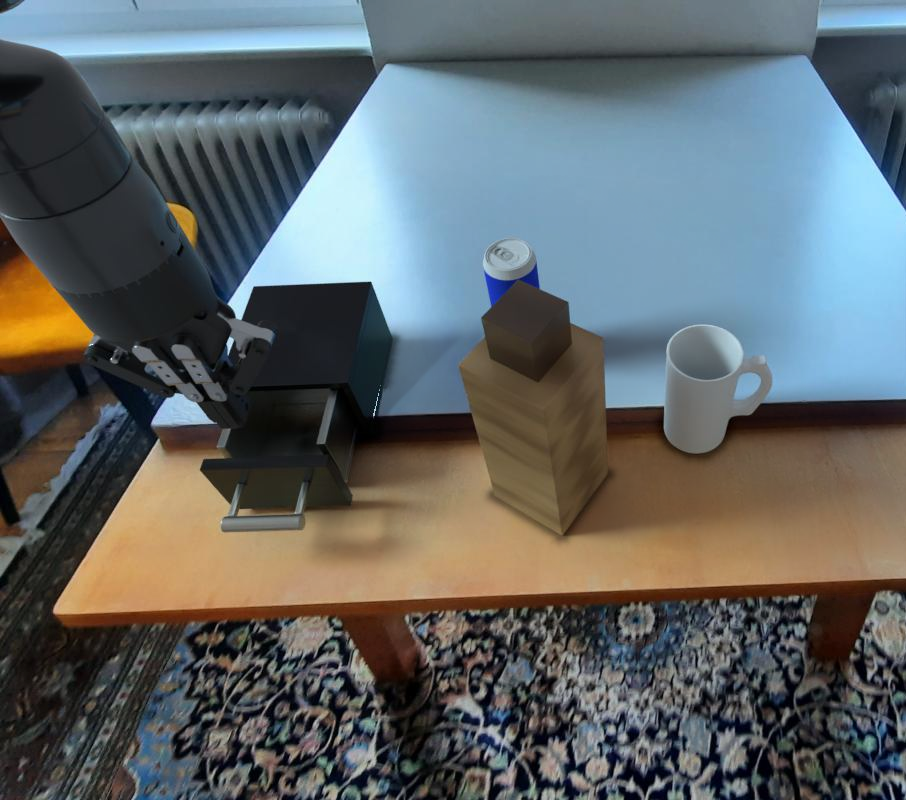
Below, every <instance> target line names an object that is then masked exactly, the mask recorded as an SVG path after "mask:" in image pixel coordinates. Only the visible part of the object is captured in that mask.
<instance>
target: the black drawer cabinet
mask: <svg viewBox="0 0 906 800" xmlns="http://www.w3.org/2000/svg"><path fill="white" fill-rule="evenodd" d="M240 320H242V321H244V322H247V323H250V324H252V325H255V326H257V325H258V323H259V322H260V321H262V320H269V321H272V322H274V323H275V324H276V325H277V331H276V334H275V338H274V341H273V344H272V347H271V350H270V353H269V356H268V358H267V360H266V361H265V363H264V365H263V367H262V369H261V370H260V372H259V374H258V376H257V377H256V379H255V381H254V383H253V384H252V386H251V388H250V390H249V391H277V390H304V389H332V388H342V389H343V391H344V393H345V395H346V397H347V399H348V401H349V403H350V405H351V407H352V409H353V411H354V413H355V415H356V417H357V419H358V421H359V423H360V425H359V429H358V434H357V438H373V437H375V434H376V433H375V432H376V429H377V424H378V418H379V412H380V407H381V404H382V403H381V402H382V397H383V392H384V387H385V381H386V377H387V371H388V366H389V361H390V357H391V356H390V355H391V351H392V347H393V346H392V345H393V340H394V338H393V335H392V333H391V331H390V328H389V325H388V322H387V319H386V316H385V313H384V312H383V309H382V307H381V303H380V301H379V298H378V296H377V293H376V291H375V288H374V284H373V283H372V281H350V282H328V283H325V282H324V283H323V282H322V283H304V284H302V283H301V284H300V283H299V284H275V285H254V286H253V287H252V289H251V292H250V295H249V297H248V300H247V303H246V306H245V308H244V311H243V314H242V317H241V319H240ZM239 352H240V351H239V350H237V348H236V342H235V340H234V339H233V341H232V343H231V347H230V349H229V351H228V357H229V359H230V361H231V362H232V364H233V365H236V364H238V362H239V360H240V357H239ZM380 385H381V386H380ZM379 389H380V391H379ZM249 391H248V392H249ZM378 393H379V396H378ZM377 397H378V401H377ZM376 401H377V406H376ZM375 406H376V411H375V416H374V419H373V413H374V409H375Z"/></svg>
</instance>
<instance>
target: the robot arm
mask: <svg viewBox="0 0 906 800" xmlns="http://www.w3.org/2000/svg"><path fill="white" fill-rule="evenodd" d="M25 1H26V0H0V15H1V14H4V13H6V12H9V11H11V10H14V9H16V7H18V6H20V5H21V4H22V3H24V2H25ZM99 101H100V100H99V99H98V98H97V96H96V94H95V92H94V91H93V90H92V88H91V86H90V85H89V84H88V82H87V81H86V80H85V78H84V77H83V75H82V74H81V73H80V71H79V70H78V69H77V68H76V67H75V66H74V65H73V64H72V63H71V62H70V61H69V60H67V58H65V57H63V56H62V55H60V54H58V53H57V52H55V51H52V50H49V49H46V48H42V47H38V46H33V45H29V44H24V43H19V42H13V41H10V40H4V39H1V38H0V219H1V221H2V222H3V224H4V226H5V227H6V229H7V230H8V232H9V234H10V236H11V237H12V239H13V240H14V242H15V243H16V244H17V245H18V247H19V248H20V249H21V250H22V252H23V253H24V254H25V256H26V257H27V258H28V259H29V260H30V261H31V263H32V264H33V265H34V266H35V268H36V269H38V271H39V272H40V273H41V274H42V276H43V277H45V279H46V280H47V281H48V282H49V284H50V285H51V286H52V287H53V289H55V291H56V292H57V293H58V294H59V296H60V297H61V298H62V299H63V300H64V302H65V303H67V305H68V306H69V307H70V308H71V309H72V311H73V312H74V313H75V314H76V315H77V317H78V318H79V319H80V321H82V322H83V324H84V325H85V326H86V328H87V329H88V330H90V332H92V333H93V335H92V337H91V339H90V341H89V343H88V345H87V347H86V349H85V351H84V352H83V355H82V360H83V361H84V362H85V363H87V364H89V365H91V366H93V367H96V368H98V369H100V370H102V371H104V372H107V373H109V374H111V375H113V376H115V377H118V378H120V379H122V380H124V381H126V382H128V383H131V384H133V385H135V386H138V387H139V388H142V389H144V390H146V391H149V392H150V393H153V394H155V395H157V396H159V397H162V398H166V399H170V398H174V396H175V395H176V394H177V395H183V396H184V397H185V398H186V399H187V400H188V401H190V402H192V403H196V404H197V406H198V407H199V408H200V409H201V411H203V413H204V415H205V417H207V419H208V420H210V422H213V423H215V424H217V425H218V427H219V428H220V429H221V430H223V429H232V428H242V427H243V425H244V422H246V421H247V418H248V415H249V412H250V409H251V402H250V400H249V399H248V397H247V396H246V394H247V393H248V391H249V390H250V388H251V386H252V384H253V383H254V381H255V379H256V377H257V376H258V374H259V372H260V370H261V369H262V367H263V365H264V363H265V361H266V360H267V358H268V356H269V353H270V350H271V347H272V344H273V341H274V338H275V334H276V331H277V325H276V324H275V323H274V322H272V321H269V320H262V321H260V322H259V323H258V325H257V326H255V325H252V324H250V323H247V322H244V321H242V320H241V319H239V318H237V316H236V312H235V311H234V309H233V307H231V306H230V305H229V304H228V303H227V302H225V301H224V300H222V299H221V298H220V297H219V296H218V295H217V294H216V291H215V288H214V286H213V283H212V279H211V276H210V273H209V271H208V269H207V268H206V266H205V263H204V262H203V261H202V259H201V257H200V256H199V254H198V253H197V251H196V250H195V248H194V246H193V245H192V242H191V241H190V240H189V238H188V236H187V235H186V233H185V231H184V229H183V228H182V225H180V223H179V221H178V219H177V218H176V217H175V215H174V213H173V212H172V210H171V208H170V207H169V205H168V203H167V201H166V199H165V198H164V197H163V195H162V193H161V191H160V190H159V188H158V187H157V185H156V184H155V182H154V181H153V180H152V179H151V177H150V176H149V174H148V173H146V171H145V169H143V168H142V166H141V165H140V164H139V163H138V161H137V160H136V158H135V157H134V156H133V154H132V153H131V151H130V150H129V149H128V147H127V145H126V143H125V142H124V140H123V139H122V137H121V135H120V134H119V132H118V131H117V129H116V128H115V126H114V125H113V122H112V121H111V119H110V118H109V116H108V114H107V113H106V111H105V109H104V108H103V106H102V104H101V103H100V102H99ZM230 338H231V339H233V341H234V340H235V342H236V348H237V350H239V351H240V352H239V357H240V360H239V362H238V364H236V365H233V364H232V362H231V361H230V359H229V357H228V355H229V347H228V345H227V344H228V341H229V339H230ZM147 365H148V366H149V368H150V369H151V370H152V371H153V372H154V373H155V374H156V375H157V376H158V377H157V376H155V375H153V374H150V373H148V372H147V371H146V369H145V368H146V367H147Z"/></svg>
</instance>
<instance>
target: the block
mask: <svg viewBox="0 0 906 800" xmlns="http://www.w3.org/2000/svg"><path fill="white" fill-rule="evenodd" d="M480 320H481V325H482V329H483V334H484V337H485V338H486V343H487V347H488V351H489V356H490V359H492V360H494V361H496V362H498V363H500V364H502V365H504V366H506V367H508V368H510V369H512V370H514V371H516V372H518V373H520V374H522V375H524V376H526V377H528V378H530V379H532V380H534V381H536V382H539V381H540V380H541V379H542V378H543V376H544V375H545V374H546V373H547V372H548V371H549V370H550V368H551V367H552V366H553V365H554V364H555V363H556V361H557V360H558V359H559V358H560V357H561V356H562V354H563V353H564V352H565V351H566V350H567V349H568V347H569V346H570V345H571V344H572V337H571V325H570V323H571V315H570V303H569V301H567V300H565V299H563V298H561V297H558V296H556V295H554V294H552V293H550V292H547V291H545V290H543V289H541V288H540V289H538V288H536V287H534V286H532V285H529V284H527V283H525V282H523V281H520V280H517V281H516V282H515V283H514V285H513V286H512V287H511V288H510V289H509V290H508V291H507V292H506V293H505V294H504V295H503V296H502V297H501V298H500V299H499V300H498V301H497V302H496V303H495V304H494V305H493V306H492V307H491V306H490V308H489V309H488V310H487V311H486V312H485V313H484V314H483V315H482V316H481V317H480Z"/></svg>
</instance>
